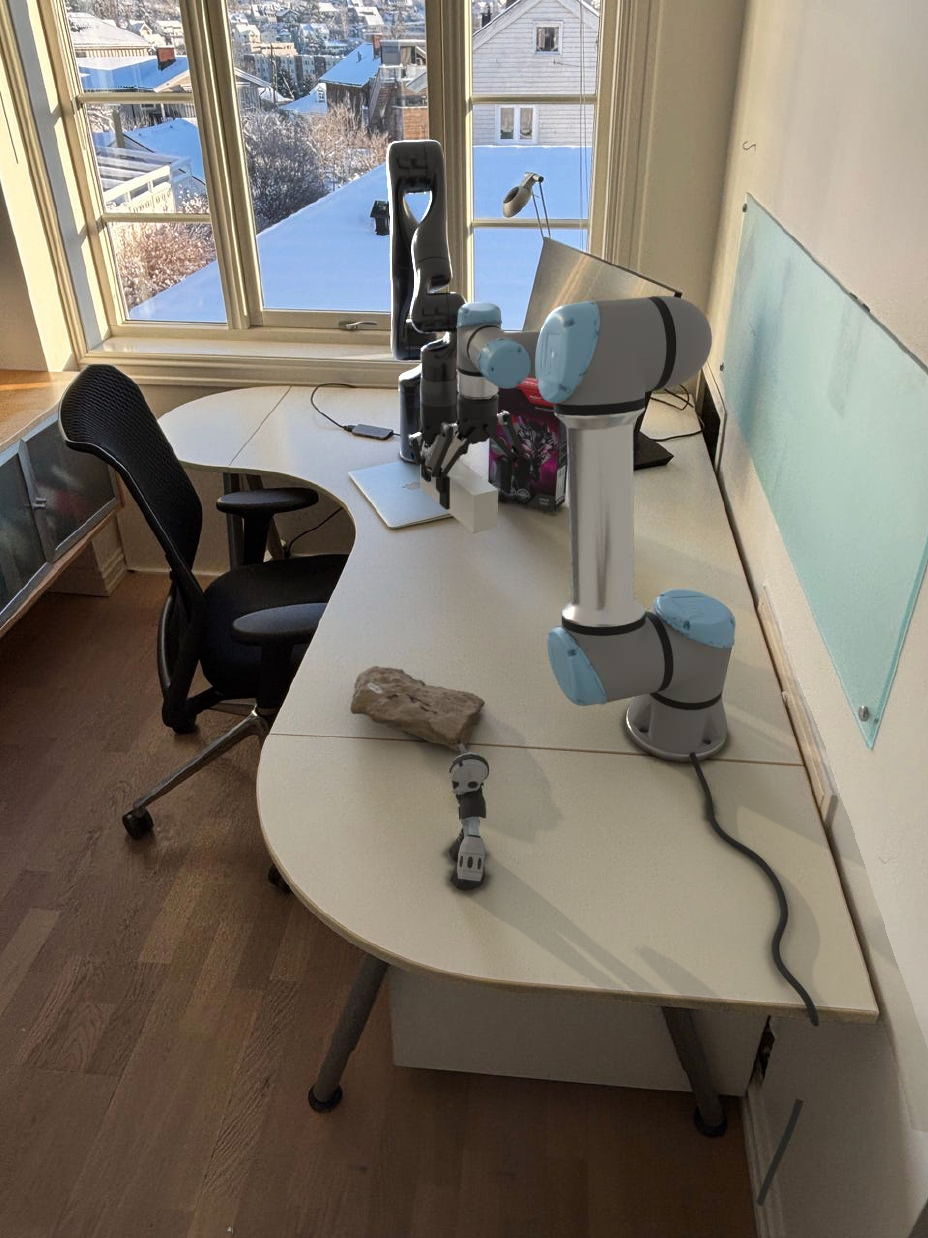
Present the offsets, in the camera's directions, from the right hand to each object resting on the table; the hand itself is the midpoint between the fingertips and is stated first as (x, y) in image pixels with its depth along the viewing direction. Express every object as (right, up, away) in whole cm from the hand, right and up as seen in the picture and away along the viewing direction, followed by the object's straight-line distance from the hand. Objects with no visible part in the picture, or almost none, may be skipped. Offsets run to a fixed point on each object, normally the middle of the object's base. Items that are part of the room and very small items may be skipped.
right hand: (475, 498), depth 178 cm
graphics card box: (+12, +4, +31) cm, 33 cm away
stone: (-10, -39, -33) cm, 52 cm away
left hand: (-7, +6, +11) cm, 15 cm away
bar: (-4, -1, +8) cm, 9 cm away
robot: (-2, -55, -57) cm, 80 cm away
